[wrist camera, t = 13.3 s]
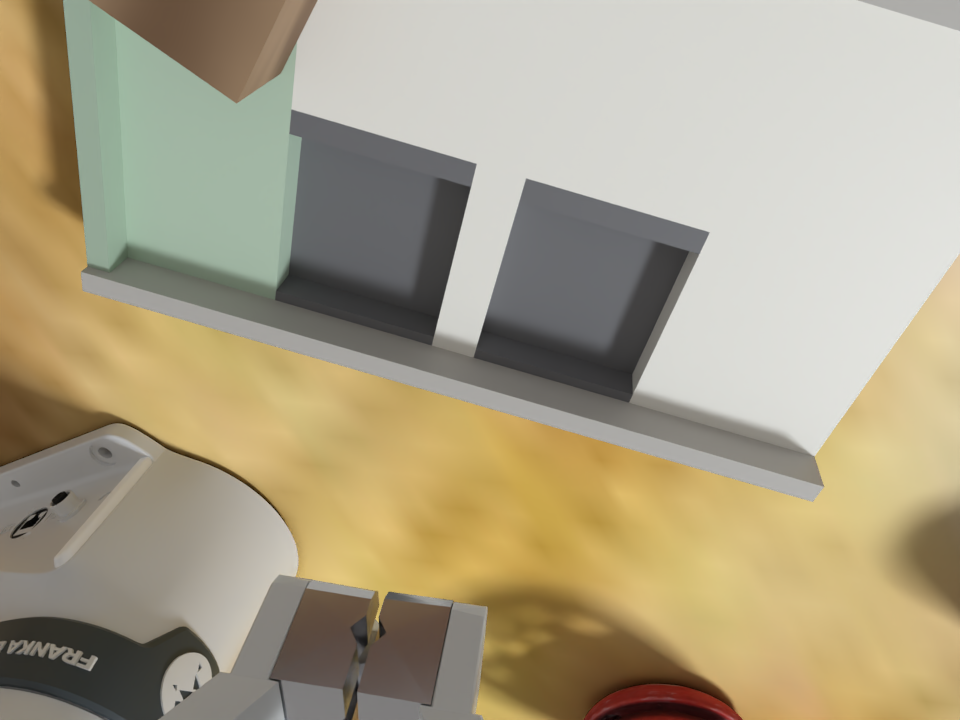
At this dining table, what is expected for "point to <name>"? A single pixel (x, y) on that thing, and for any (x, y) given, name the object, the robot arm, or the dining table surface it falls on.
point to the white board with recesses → (614, 213)
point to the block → (219, 36)
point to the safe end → (179, 161)
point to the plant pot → (660, 705)
